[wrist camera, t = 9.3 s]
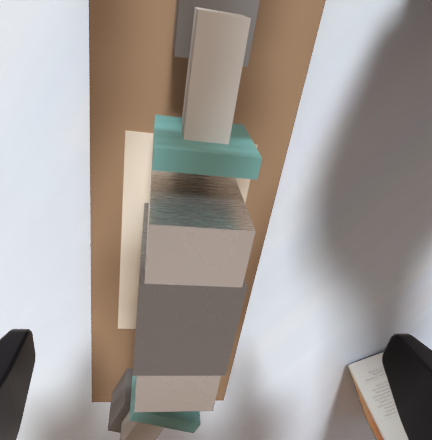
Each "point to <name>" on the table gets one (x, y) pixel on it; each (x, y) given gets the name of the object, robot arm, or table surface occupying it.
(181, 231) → the block
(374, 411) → the small box
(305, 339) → the table surface
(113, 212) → the shaft coupling stand
